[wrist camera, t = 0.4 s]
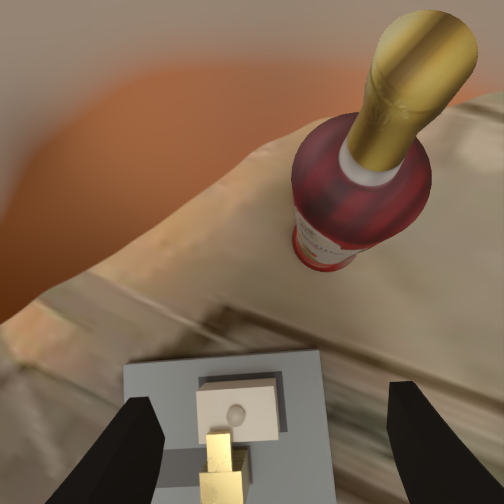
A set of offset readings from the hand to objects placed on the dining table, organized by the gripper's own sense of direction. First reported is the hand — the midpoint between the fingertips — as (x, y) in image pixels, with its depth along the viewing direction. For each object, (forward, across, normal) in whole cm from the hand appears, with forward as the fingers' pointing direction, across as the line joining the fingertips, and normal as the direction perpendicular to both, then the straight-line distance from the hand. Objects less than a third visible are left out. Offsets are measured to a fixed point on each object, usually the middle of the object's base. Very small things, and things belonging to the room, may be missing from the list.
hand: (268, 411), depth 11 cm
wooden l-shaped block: (+13, +6, +23) cm, 27 cm away
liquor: (+27, -5, +8) cm, 28 cm away
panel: (+15, +7, +22) cm, 28 cm away
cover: (+16, +5, +20) cm, 26 cm away
